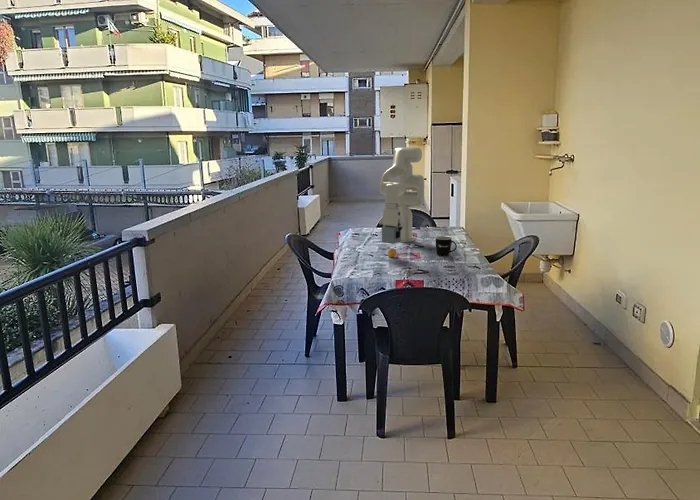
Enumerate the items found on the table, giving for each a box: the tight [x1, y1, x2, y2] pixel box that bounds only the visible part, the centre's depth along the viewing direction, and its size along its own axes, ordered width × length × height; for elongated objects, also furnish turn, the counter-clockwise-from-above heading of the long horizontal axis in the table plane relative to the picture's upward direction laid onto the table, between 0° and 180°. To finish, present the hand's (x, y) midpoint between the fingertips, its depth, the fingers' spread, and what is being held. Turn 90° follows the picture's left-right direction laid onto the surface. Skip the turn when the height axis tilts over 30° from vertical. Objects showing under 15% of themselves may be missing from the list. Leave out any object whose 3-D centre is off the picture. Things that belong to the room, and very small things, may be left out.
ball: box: [387, 247, 398, 258], centre depth 284 cm, size 5×5×5 cm
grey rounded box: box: [381, 226, 401, 245], centre depth 281 cm, size 8×8×9 cm
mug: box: [435, 235, 458, 257], centre depth 286 cm, size 12×9×10 cm
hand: (391, 236), depth 281 cm, fingers closed on grey rounded box, 7 cm apart
